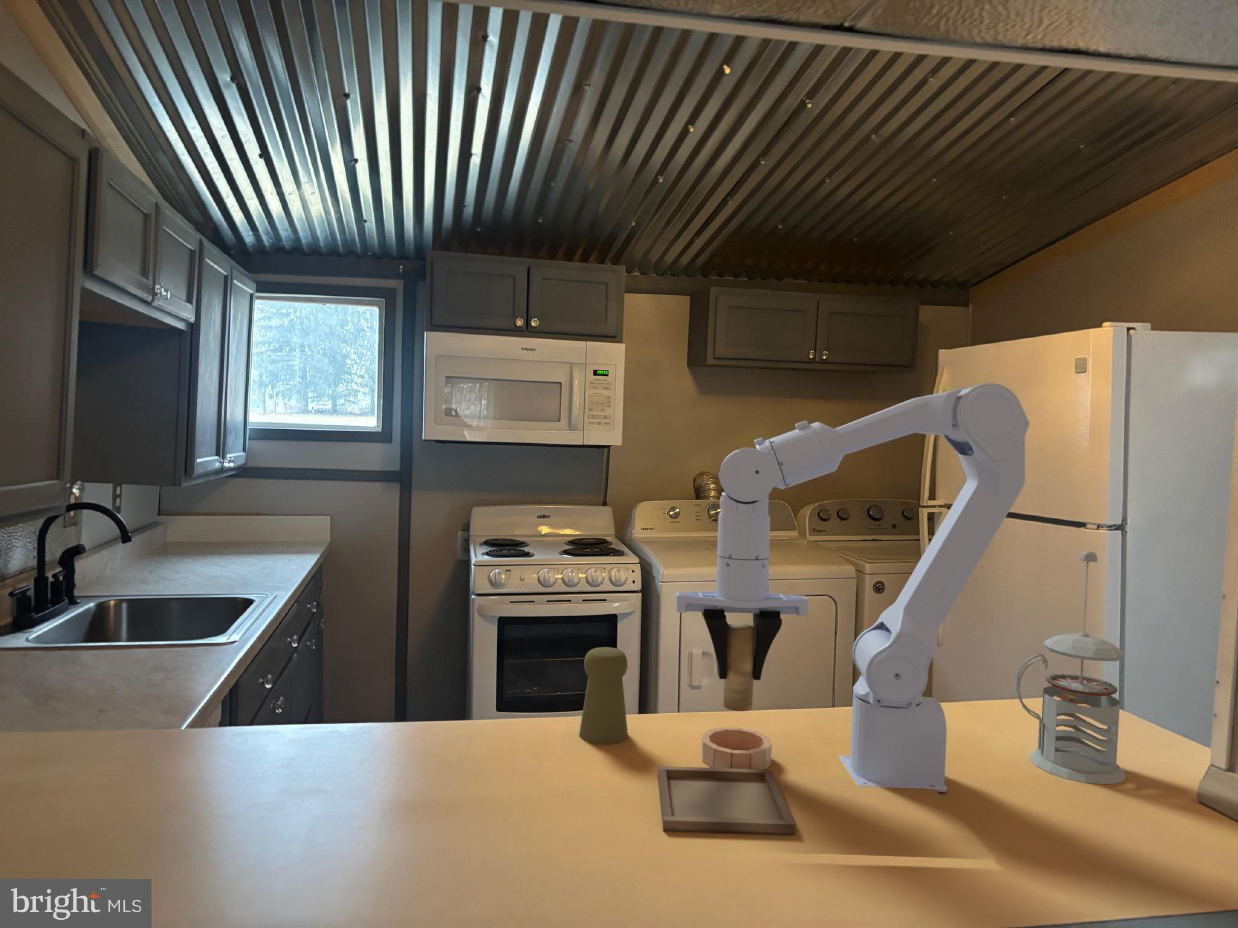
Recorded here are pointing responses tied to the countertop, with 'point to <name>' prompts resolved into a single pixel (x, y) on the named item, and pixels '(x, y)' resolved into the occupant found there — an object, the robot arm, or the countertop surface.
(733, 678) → the dowel pin
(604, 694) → the olive green pawn
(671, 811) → the walnut tray
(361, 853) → the countertop surface
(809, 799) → the countertop surface
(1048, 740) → the french press
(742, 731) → the pink round piece
